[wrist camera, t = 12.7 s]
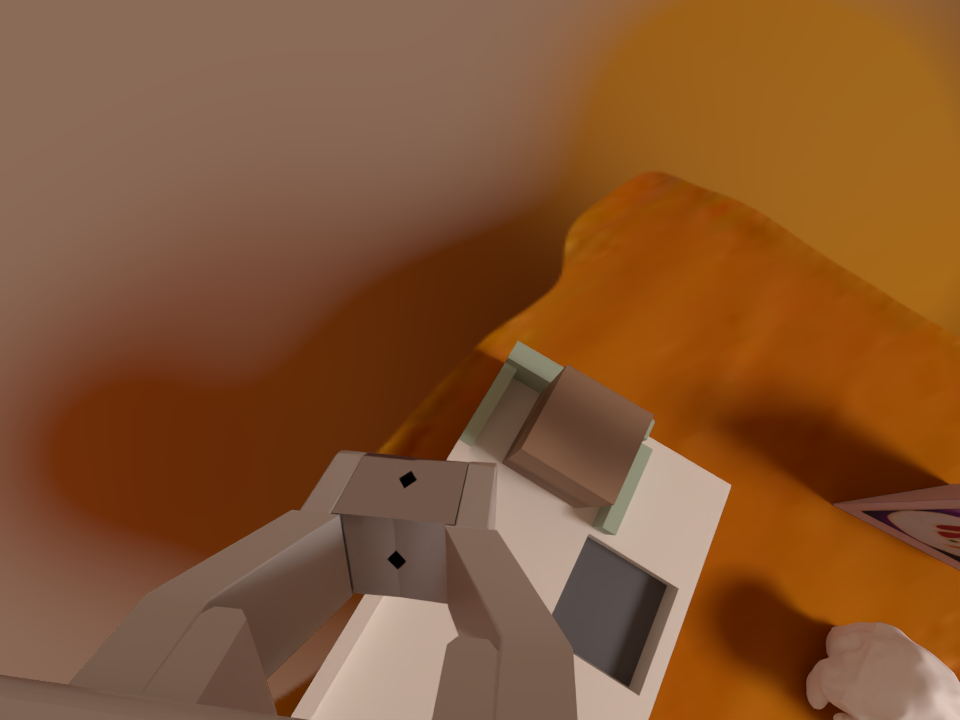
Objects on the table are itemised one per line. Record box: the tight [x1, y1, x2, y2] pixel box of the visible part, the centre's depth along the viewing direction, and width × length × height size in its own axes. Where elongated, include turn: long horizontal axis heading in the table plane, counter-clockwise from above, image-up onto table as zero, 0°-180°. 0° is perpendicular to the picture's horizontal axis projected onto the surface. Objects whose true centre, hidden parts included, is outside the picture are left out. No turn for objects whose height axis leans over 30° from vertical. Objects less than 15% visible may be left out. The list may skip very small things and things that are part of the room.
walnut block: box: [502, 364, 654, 508], centre depth 30 cm, size 6×6×7 cm
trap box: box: [291, 341, 731, 720], centre depth 28 cm, size 36×19×5 cm, turn 150°
